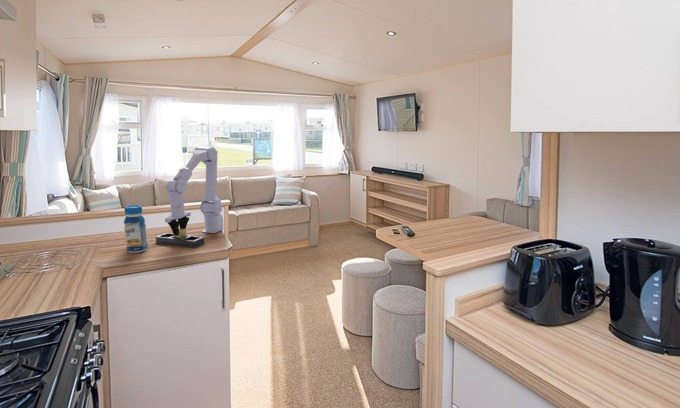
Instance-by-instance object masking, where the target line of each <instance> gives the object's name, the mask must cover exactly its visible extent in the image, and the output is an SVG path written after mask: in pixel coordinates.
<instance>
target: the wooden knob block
mask: <svg viewBox="0 0 680 408" xmlns="http://www.w3.org/2000/svg"><path fill="white" fill-rule="evenodd" d="M178 230H179V234H178V236H176V235H174V234H173V233H172V234H173V238H176V239H182V238H185V237H186V235H187V228H186V229H185V228H180V227H179V229H178Z"/></svg>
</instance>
